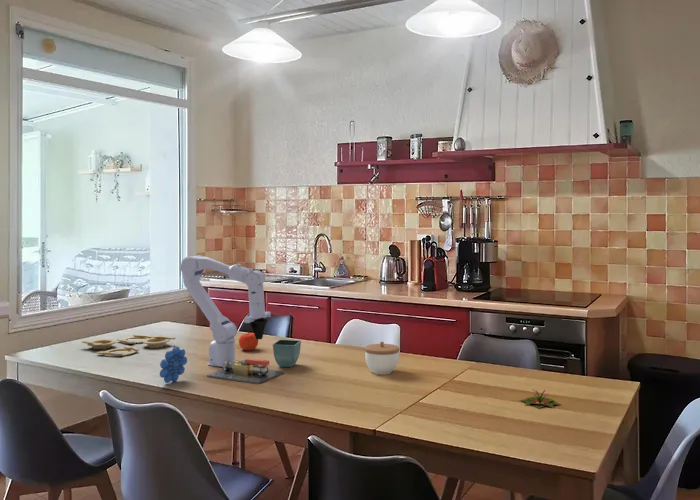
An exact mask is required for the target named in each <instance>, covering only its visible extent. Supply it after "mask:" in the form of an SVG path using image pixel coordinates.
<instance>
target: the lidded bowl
mask: <svg viewBox="0 0 700 500" xmlns="http://www.w3.org/2000/svg"><path fill="white" fill-rule="evenodd" d="M399 358H400V347H399V346H398V345H395V344H391V343H385V342H384V341H380V342H379V343H373V344H372V343H371V344H368V345H365V346H364V360H365V363H366V366H367V367H368V369H369V370H370V371H371V372H372V373H373V374H374V375H389V374H391V373H393V371H394V370H395V369H396V368H397V366H398V363H399Z"/></svg>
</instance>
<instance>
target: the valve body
mask: <svg viewBox="0 0 700 500" xmlns="http://www.w3.org/2000/svg"><path fill="white" fill-rule="evenodd" d="M222 368H223V369H220V370H217V371H214V372H211V373H210V374H207V375H206V376H207V378H213V379H220V380H228V381H233V382H234V381H235V382H242V383H249V384H253V385H254V384H255V385H261V384H262V383H263V384H264V383H265V382H267V381H270V380H272V379H274V378H276V377H279V376H281V375H283V374H285V371H282V370H275V369H269V367H268V365H267V366H262V365H258V364H251V363H250V364H247V365H243V364H241V360H235V362H234V363H232V362H230V361H225V362H224V363H223V367H222Z"/></svg>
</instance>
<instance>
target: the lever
mask: <svg viewBox="0 0 700 500" xmlns="http://www.w3.org/2000/svg"><path fill="white" fill-rule="evenodd" d="M240 361H241V364H243V365H247V364H250V363H251V364H258V366H267V367H268V366H270V360H267V359H255V358H244V359H242V360H240Z"/></svg>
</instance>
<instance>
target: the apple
mask: <svg viewBox="0 0 700 500" xmlns="http://www.w3.org/2000/svg"><path fill="white" fill-rule="evenodd" d="M238 344H239V347H240V348H241V349H242V350H243V351H248V352H249V351H250V352H251V351H254V350H255V349H256V348H257V347H258V345H259V339H256V338H255V334H254V332H250V331H249V330H248V331H247V333H244V334H241V335H240V336H239V338H238Z"/></svg>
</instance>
